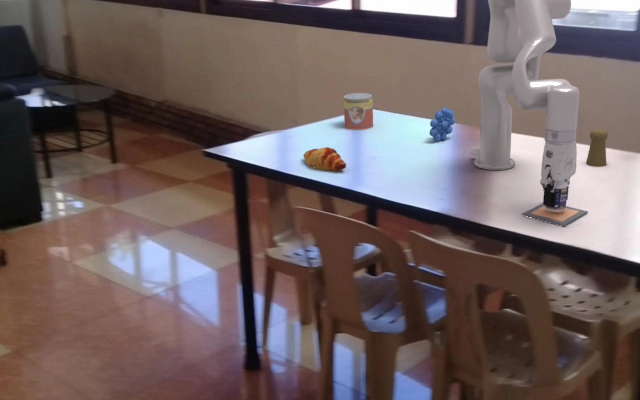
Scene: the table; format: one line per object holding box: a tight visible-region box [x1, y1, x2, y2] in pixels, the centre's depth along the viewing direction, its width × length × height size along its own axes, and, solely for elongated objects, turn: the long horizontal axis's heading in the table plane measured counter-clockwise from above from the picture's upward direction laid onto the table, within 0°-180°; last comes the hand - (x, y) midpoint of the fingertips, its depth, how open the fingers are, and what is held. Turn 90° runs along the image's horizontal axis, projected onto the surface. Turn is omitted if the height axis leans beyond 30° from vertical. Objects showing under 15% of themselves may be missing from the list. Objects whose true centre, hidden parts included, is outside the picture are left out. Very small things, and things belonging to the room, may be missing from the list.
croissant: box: [303, 146, 347, 172], centre depth 241 cm, size 21×10×8 cm, turn 39°
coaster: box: [521, 202, 589, 227], centre depth 193 cm, size 12×12×1 cm
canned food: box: [342, 92, 374, 131], centre depth 286 cm, size 11×11×12 cm
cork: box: [585, 128, 609, 168], centre depth 230 cm, size 6×6×11 cm
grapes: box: [429, 106, 456, 142], centre depth 262 cm, size 12×7×12 cm, turn 124°
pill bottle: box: [544, 177, 569, 212], centre depth 191 cm, size 5×5×10 cm
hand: (555, 201), depth 192 cm, fingers closed on pill bottle, 5 cm apart
